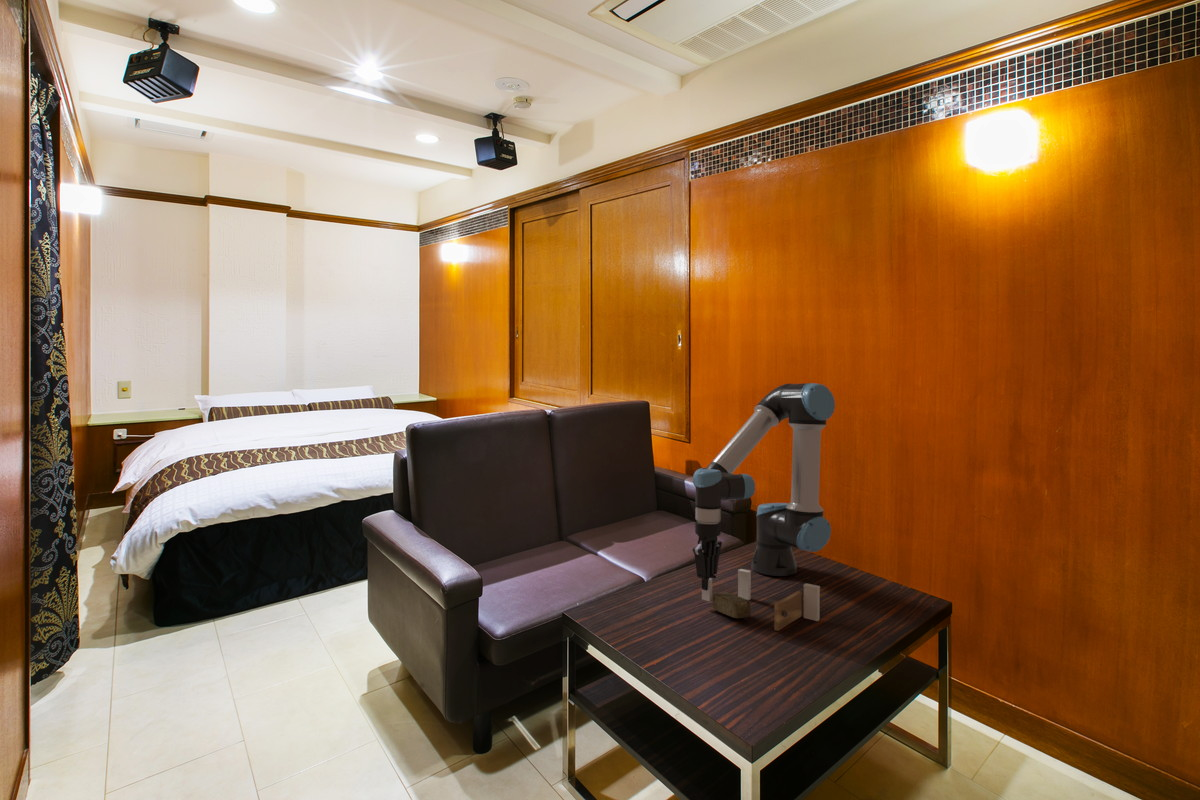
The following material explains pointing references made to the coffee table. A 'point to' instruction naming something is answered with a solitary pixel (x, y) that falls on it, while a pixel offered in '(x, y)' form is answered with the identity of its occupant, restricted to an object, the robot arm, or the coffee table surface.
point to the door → (788, 610)
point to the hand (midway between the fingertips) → (706, 599)
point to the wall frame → (809, 594)
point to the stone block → (731, 605)
